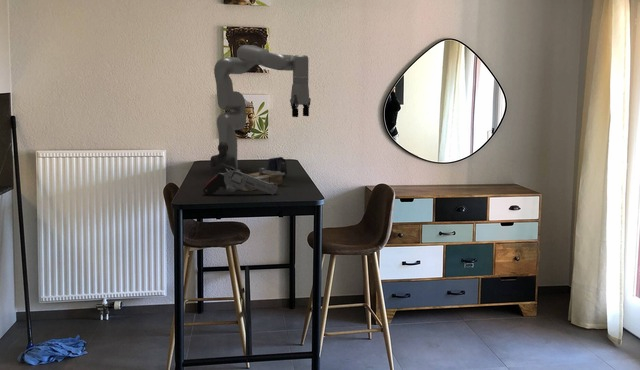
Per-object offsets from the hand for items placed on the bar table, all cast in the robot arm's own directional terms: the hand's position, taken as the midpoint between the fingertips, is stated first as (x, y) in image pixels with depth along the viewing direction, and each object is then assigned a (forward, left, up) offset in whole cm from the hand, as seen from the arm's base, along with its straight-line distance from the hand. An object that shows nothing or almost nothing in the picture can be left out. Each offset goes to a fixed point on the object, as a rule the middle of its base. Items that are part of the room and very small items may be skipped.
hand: (300, 116), depth 334 cm
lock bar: (-2, -21, -26) cm, 34 cm away
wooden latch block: (-7, -29, -31) cm, 43 cm away
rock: (-14, 0, -31) cm, 34 cm away
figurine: (-22, -33, -31) cm, 51 cm away
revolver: (+2, -51, -32) cm, 60 cm away
